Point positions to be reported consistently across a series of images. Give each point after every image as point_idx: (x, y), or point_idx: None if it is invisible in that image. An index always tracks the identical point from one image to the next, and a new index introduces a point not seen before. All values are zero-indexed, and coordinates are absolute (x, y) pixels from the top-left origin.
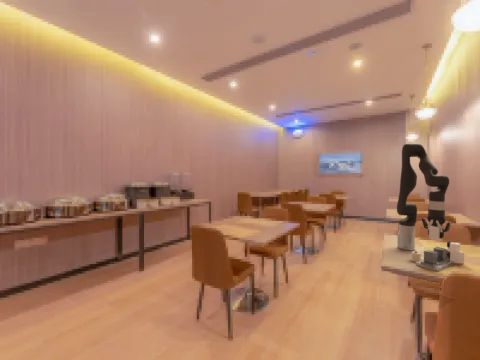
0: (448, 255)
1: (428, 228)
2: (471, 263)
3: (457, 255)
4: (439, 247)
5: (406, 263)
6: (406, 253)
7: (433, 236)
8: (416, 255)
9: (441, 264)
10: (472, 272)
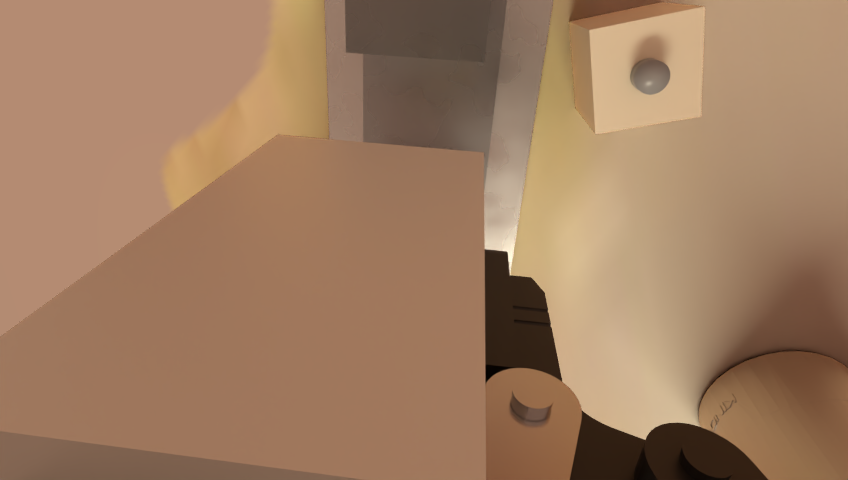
0: None
1: (547, 421)
2: None
3: None
4: None
5: None
6: (753, 243)
7: (363, 174)
8: (624, 20)
9: (360, 85)
10: (175, 175)
